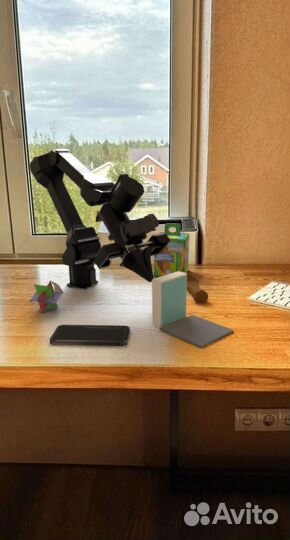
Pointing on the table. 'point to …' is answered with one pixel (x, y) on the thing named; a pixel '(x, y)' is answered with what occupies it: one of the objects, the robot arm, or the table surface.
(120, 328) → the phone
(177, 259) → the chalk box
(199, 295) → the primitive tool
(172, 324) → the mat
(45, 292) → the geometric puzzle
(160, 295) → the cream flat block
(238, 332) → the table surface
